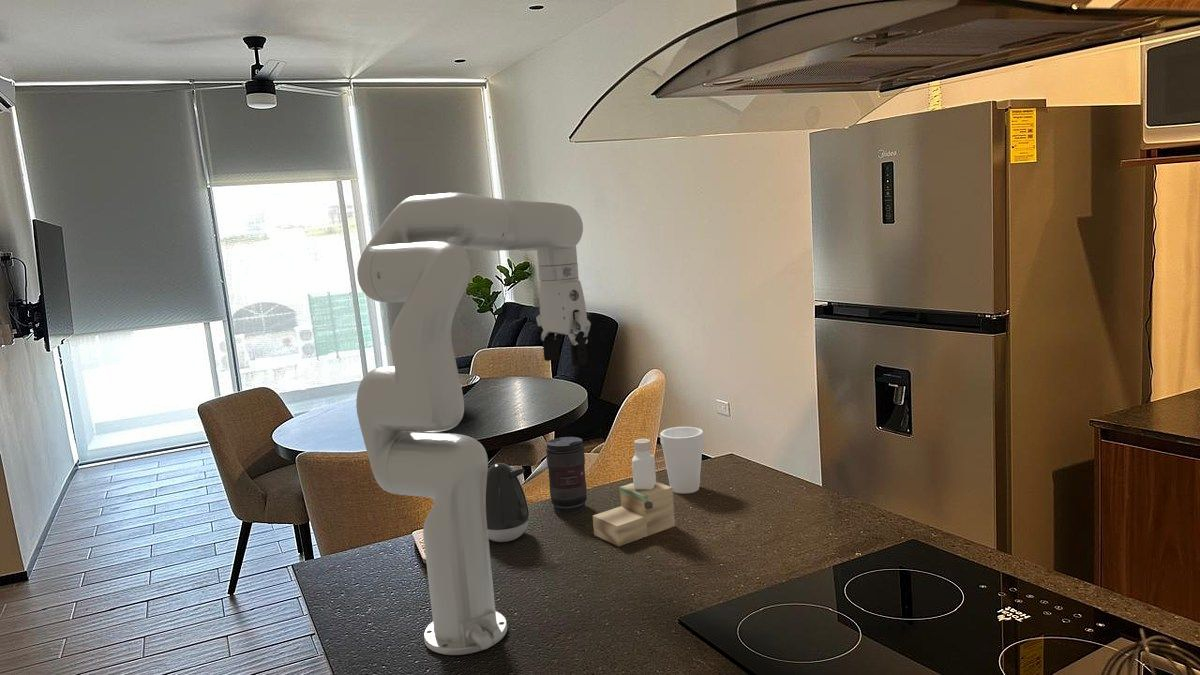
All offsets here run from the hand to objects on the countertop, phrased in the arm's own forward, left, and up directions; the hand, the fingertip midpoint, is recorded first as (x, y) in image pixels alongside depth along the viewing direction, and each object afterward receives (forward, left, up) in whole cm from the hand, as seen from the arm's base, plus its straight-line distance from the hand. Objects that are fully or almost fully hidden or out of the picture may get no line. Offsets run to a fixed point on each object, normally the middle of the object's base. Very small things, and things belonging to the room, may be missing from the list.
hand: (565, 362), depth 161 cm
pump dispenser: (+8, +12, -34) cm, 37 cm away
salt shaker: (-8, -11, -26) cm, 30 cm away
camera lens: (+12, -6, -34) cm, 37 cm away
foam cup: (+3, -31, -34) cm, 46 cm away
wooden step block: (-8, -8, -34) cm, 36 cm away
